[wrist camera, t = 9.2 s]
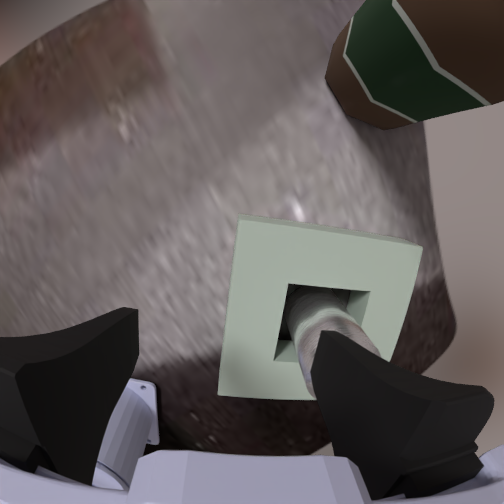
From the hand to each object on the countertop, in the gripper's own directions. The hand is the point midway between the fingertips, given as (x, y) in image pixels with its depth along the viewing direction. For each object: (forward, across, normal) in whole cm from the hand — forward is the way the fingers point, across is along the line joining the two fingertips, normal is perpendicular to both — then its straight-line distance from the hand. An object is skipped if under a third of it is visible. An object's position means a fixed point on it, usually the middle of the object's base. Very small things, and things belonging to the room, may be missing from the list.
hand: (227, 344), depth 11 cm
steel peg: (+9, -6, +2) cm, 11 cm away
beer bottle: (+10, -8, -15) cm, 20 cm away
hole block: (+9, -6, +2) cm, 11 cm away
